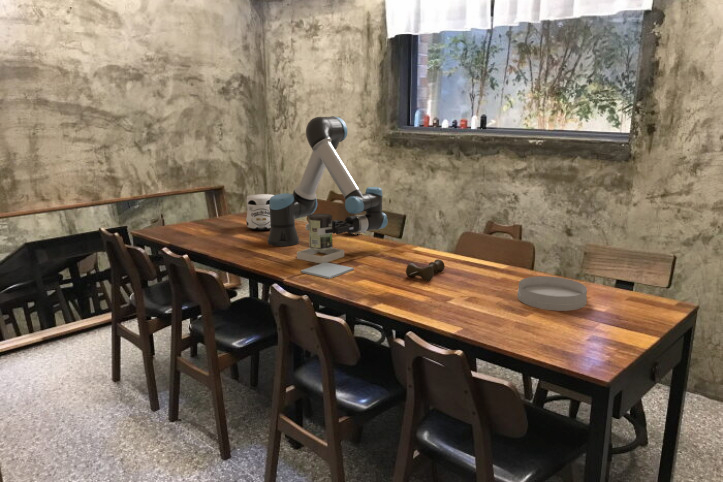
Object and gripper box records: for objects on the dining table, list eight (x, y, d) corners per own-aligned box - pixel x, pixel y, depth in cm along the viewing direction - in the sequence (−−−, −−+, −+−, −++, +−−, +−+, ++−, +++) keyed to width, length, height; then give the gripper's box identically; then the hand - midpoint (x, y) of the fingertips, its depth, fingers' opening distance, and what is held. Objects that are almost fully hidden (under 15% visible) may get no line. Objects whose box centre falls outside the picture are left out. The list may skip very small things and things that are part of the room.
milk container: (257, 233, 287) (255, 199, 283) (240, 228, 299) (238, 196, 295) (285, 228, 298) (283, 196, 294) (267, 224, 311) (266, 192, 306)
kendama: (450, 274, 215) (419, 285, 200) (430, 270, 221) (399, 280, 207) (450, 259, 214) (419, 269, 199) (430, 256, 220) (399, 265, 206)
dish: (532, 285, 199) (533, 272, 198) (595, 298, 186) (596, 284, 185) (506, 301, 183) (506, 287, 182) (573, 316, 169) (574, 301, 168)
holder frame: (297, 258, 237) (296, 251, 237) (319, 251, 249) (319, 245, 248) (322, 263, 229) (322, 257, 228) (344, 256, 240) (344, 249, 239)
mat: (300, 272, 217) (300, 270, 217) (325, 263, 229) (325, 262, 229) (329, 278, 208) (329, 276, 208) (353, 269, 220) (353, 267, 220)
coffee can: (333, 244, 243) (333, 213, 239) (331, 250, 233) (331, 218, 229) (310, 244, 243) (309, 213, 239) (307, 250, 233) (306, 217, 229)
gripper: (369, 237, 237) (324, 243, 225) (343, 227, 255) (300, 233, 243) (369, 220, 235) (324, 225, 223) (342, 211, 253) (299, 216, 242)
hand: (311, 229), depth 233 cm, fingers closed on coffee can, 10 cm apart
